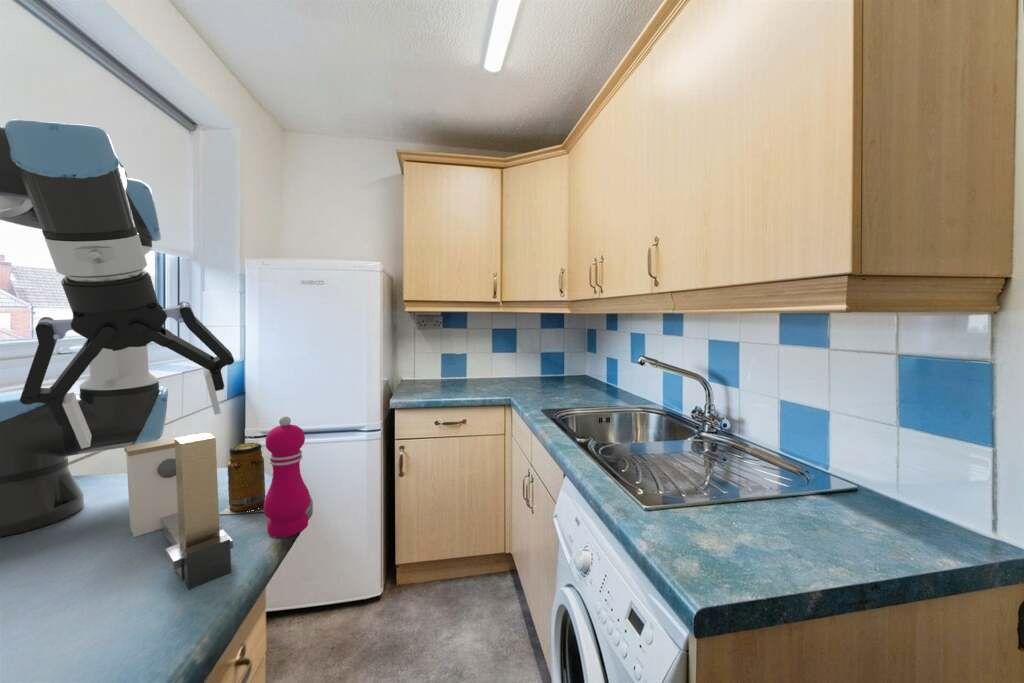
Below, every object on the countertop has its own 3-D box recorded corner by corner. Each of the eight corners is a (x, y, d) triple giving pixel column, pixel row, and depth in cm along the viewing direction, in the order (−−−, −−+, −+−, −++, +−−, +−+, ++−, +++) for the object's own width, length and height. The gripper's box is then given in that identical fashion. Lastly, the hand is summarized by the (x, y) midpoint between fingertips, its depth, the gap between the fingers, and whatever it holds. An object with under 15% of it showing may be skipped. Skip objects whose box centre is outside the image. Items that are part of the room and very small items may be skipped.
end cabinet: (128, 529, 72) (124, 446, 71) (201, 508, 79) (198, 433, 79) (133, 538, 68) (128, 452, 68) (208, 515, 76) (204, 438, 76)
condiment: (239, 498, 84) (237, 441, 83) (282, 496, 85) (281, 440, 84) (217, 515, 77) (215, 452, 76) (265, 513, 77) (263, 451, 77)
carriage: (166, 569, 59) (160, 440, 58) (223, 548, 65) (218, 429, 64) (174, 584, 56) (167, 447, 55) (233, 561, 62) (228, 435, 61)
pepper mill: (320, 520, 74) (317, 412, 73) (290, 541, 67) (286, 422, 66) (286, 516, 76) (283, 410, 75) (254, 536, 69) (249, 420, 68)
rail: (153, 531, 71) (152, 503, 71) (189, 520, 75) (188, 493, 74) (188, 590, 55) (186, 554, 55) (231, 572, 59) (229, 539, 59)
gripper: (-85, 296, 37) (12, 477, 46) (238, 270, 52) (265, 410, 61) (-58, 275, 42) (25, 441, 51) (229, 257, 57) (256, 387, 66)
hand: (156, 424), depth 56 cm, fingers open, 13 cm apart
